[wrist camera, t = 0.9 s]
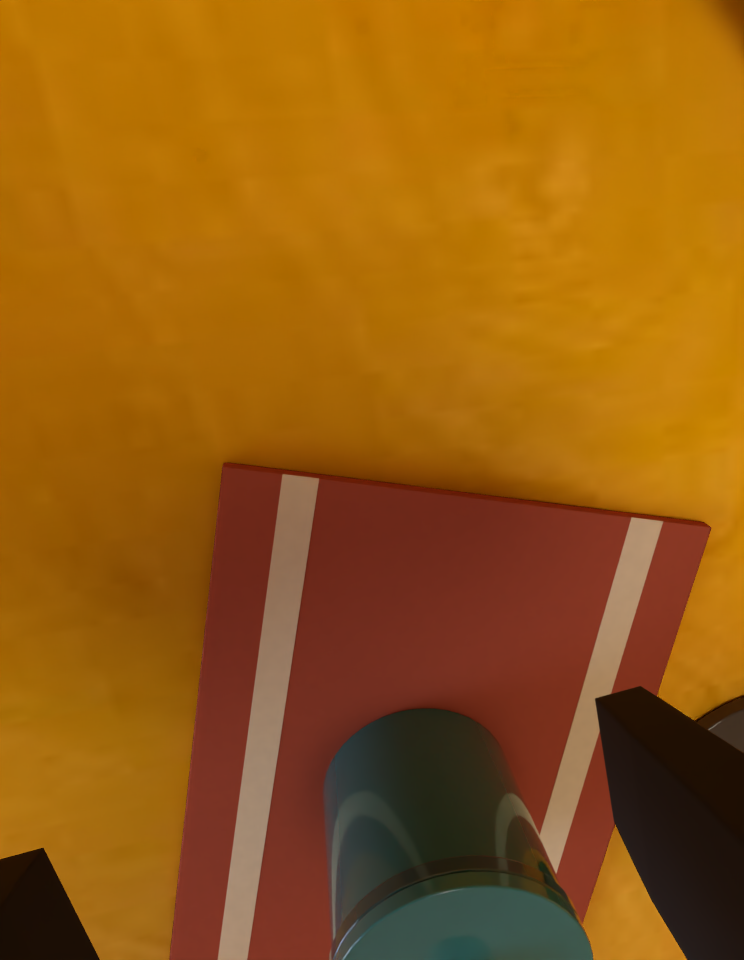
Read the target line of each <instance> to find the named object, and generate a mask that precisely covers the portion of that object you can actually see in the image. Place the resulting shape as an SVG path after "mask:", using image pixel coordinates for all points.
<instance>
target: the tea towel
mask: <svg viewBox="0 0 744 960" xmlns="http://www.w3.org/2000/svg"><path fill="white" fill-rule="evenodd" d="M710 531H711V527H710V526H709V525H707V524H706V523H704V522H697V521H689V520H681V519H673V518H665V517H657V516H650V515H642V514H634V513H626V512H618V511H610V510H602V509H594V508H586V507H578V506H570V505H562V504H554V503H546V502H538V501H530V500H522V499H514V498H506V497H498V496H490V495H482V494H474V493H466V492H458V491H450V490H442V489H434V488H426V487H418V486H410V485H402V484H394V483H386V482H378V481H370V480H362V479H354V478H346V477H338V476H330V475H322V474H314V473H306V472H298V471H290V470H282V469H274V468H266V467H258V466H250V465H242V464H234V463H224V464H223V467H222V476H221V485H220V494H219V504H218V513H217V522H216V531H215V541H214V550H213V559H212V569H211V578H210V587H209V597H208V606H207V615H206V625H205V634H204V643H203V653H202V662H201V671H200V680H199V690H198V699H197V708H196V718H195V727H194V736H193V746H192V755H191V764H190V774H189V783H188V792H187V802H186V811H185V820H184V829H183V839H182V848H181V857H180V867H179V876H178V885H177V895H176V904H175V913H174V923H173V932H172V941H171V951H170V960H329V954H330V950H331V936H330V919H329V901H328V884H327V866H326V848H325V831H324V813H323V796H322V793H323V784H324V780H325V776H326V772H327V770H328V768H329V765H330V763H331V761H332V760H333V758H334V756H335V755H336V753H337V752H338V750H339V749H340V748H341V747H342V745H343V744H344V743H345V742H346V741H347V740H348V739H349V738H350V737H351V736H352V735H353V734H355V733H356V732H357V731H359V730H360V729H361V728H363V727H364V726H366V725H368V724H369V723H371V722H373V721H375V720H377V719H379V718H381V717H383V716H386V715H389V714H392V713H395V712H399V711H404V710H409V709H418V708H435V709H443V710H449V711H452V712H456V713H459V714H462V715H464V716H467V717H469V718H471V719H473V720H474V721H476V722H478V723H480V724H481V725H482V726H483V727H485V728H486V729H487V730H488V731H489V732H490V733H491V734H492V735H493V736H494V737H495V738H496V739H497V741H498V742H499V744H500V745H501V747H502V749H503V751H504V753H505V755H506V757H507V760H508V762H509V764H510V767H511V769H512V771H513V774H514V776H515V779H516V781H517V783H518V786H519V788H520V790H521V793H522V795H523V797H524V800H525V802H526V804H527V807H528V809H529V812H530V814H531V816H532V819H533V821H534V823H535V826H536V828H537V830H538V833H539V835H540V838H541V840H542V842H543V845H544V847H545V849H546V852H547V854H548V856H549V859H550V861H551V863H552V866H553V868H554V871H555V873H556V875H557V878H558V880H559V882H560V885H561V887H562V889H563V890H564V891H565V892H566V894H567V895H568V897H569V898H570V899H571V901H572V903H573V905H574V907H575V909H576V911H577V913H578V916H579V918H580V920H581V922H582V924H583V921H584V918H585V915H586V912H587V908H588V905H589V902H590V899H591V896H592V893H593V890H594V887H595V884H596V881H597V878H598V875H599V872H600V869H601V865H602V862H603V859H604V856H605V853H606V850H607V847H608V844H609V841H610V838H611V835H612V832H613V829H614V826H615V822H614V819H613V813H612V806H611V800H610V793H609V787H608V780H607V774H606V768H605V761H604V755H603V748H602V742H601V735H600V729H599V722H598V716H597V709H596V703H595V698H598V697H601V696H605V695H609V694H613V693H616V692H620V691H624V690H627V689H631V688H635V687H638V686H641V687H643V688H645V689H646V690H648V691H649V692H651V693H653V694H654V695H656V696H657V693H658V690H659V687H660V684H661V681H662V678H663V675H664V672H665V669H666V666H667V663H668V660H669V657H670V654H671V650H672V647H673V644H674V641H675V638H676V635H677V632H678V629H679V626H680V623H681V620H682V617H683V614H684V611H685V607H686V604H687V601H688V598H689V595H690V592H691V589H692V586H693V583H694V580H695V577H696V574H697V571H698V568H699V564H700V561H701V558H702V555H703V552H704V549H705V546H706V543H707V540H708V537H709V534H710Z"/></svg>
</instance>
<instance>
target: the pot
mask: <svg viewBox="0 0 744 960" xmlns="http://www.w3.org/2000/svg"><path fill="white" fill-rule="evenodd" d="M322 796H323V813H324V831H325V848H326V866H327V884H328V901H329V919H330V936H331V950H330V954H329V960H593V952H592V948H591V945H590V941H589V939H588V936H587V934H586V932H585V929H584V927H583V925H582V922H581V920H580V918H579V916H578V913H577V911H576V909H575V907H574V905H573V903H572V901H571V899H570V898H569V897H568V895H567V894H566V892H565V891H564V890H563V889H562V887H561V885H560V882H559V880H558V878H557V875H556V873H555V871H554V868H553V866H552V863H551V861H550V859H549V856H548V854H547V852H546V849H545V847H544V845H543V842H542V840H541V838H540V835H539V833H538V830H537V828H536V826H535V823H534V821H533V819H532V816H531V814H530V812H529V809H528V807H527V804H526V802H525V800H524V797H523V795H522V793H521V790H520V788H519V786H518V783H517V781H516V779H515V776H514V774H513V771H512V769H511V767H510V764H509V762H508V760H507V757H506V755H505V753H504V751H503V749H502V747H501V745H500V744H499V742H498V741H497V739H496V738H495V737H494V736H493V735H492V734H491V733H490V732H489V731H488V730H487V729H486V728H485V727H483V726H482V725H481V724H480V723H478V722H476V721H474V720H473V719H471V718H469V717H467V716H464V715H462V714H459V713H456V712H452V711H449V710H443V709H435V708H418V709H409V710H404V711H399V712H395V713H392V714H389V715H386V716H383V717H381V718H379V719H377V720H375V721H373V722H371V723H369V724H368V725H366V726H364V727H363V728H361V729H360V730H359V731H357V732H356V733H355V734H353V735H352V736H351V737H350V738H349V739H348V740H347V741H346V742H345V743H344V744H343V745H342V747H341V748H340V749H339V750H338V752H337V753H336V755H335V756H334V758H333V760H332V761H331V763H330V765H329V768H328V770H327V772H326V776H325V780H324V784H323V793H322Z"/></svg>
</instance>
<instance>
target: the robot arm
mask: <svg viewBox="0 0 744 960" xmlns="http://www.w3.org/2000/svg"><path fill="white" fill-rule="evenodd" d="M595 703H596V709H597V716H598V722H599V729H600V735H601V742H602V748H603V755H604V761H605V768H606V774H607V780H608V787H609V793H610V800H611V806H612V813H613V819H614V822H615V825H616V827H617V829H618V831H619V833H620V835H621V837H622V839H623V842H624V844H625V846H626V848H627V850H628V852H629V854H630V857H631V859H632V861H633V863H634V865H635V867H636V869H637V871H638V873H639V875H640V877H641V879H642V881H643V883H644V885H645V888H646V890H647V892H648V894H649V896H650V898H651V900H652V902H653V903H654V905H655V907H656V908H657V910H658V912H659V913H660V915H661V917H662V918H663V920H664V922H665V923H666V925H667V927H668V928H669V930H670V932H671V933H672V935H673V937H674V938H675V940H676V942H677V943H678V945H679V947H680V948H681V950H682V951H683V953H684V955H685V956H686V958H687V960H744V753H743V752H742V751H740V750H739V749H737V748H735V747H734V746H732V745H731V744H729V743H728V742H726V741H725V740H723V739H721V738H720V737H718V736H717V735H715V734H714V733H712V732H711V731H709V730H708V729H706V728H704V727H703V726H701V725H700V724H698V723H697V722H695V721H694V720H692V719H691V718H689V717H688V716H686V715H685V714H683V713H682V712H680V711H679V710H677V709H676V708H674V707H673V706H671V705H669V704H668V703H666V702H665V701H663V700H662V699H660V698H659V697H657V696H656V695H654V694H653V693H651V692H649V691H648V690H646V689H645V688H643V687H641V686H638V687H635V688H631V689H627V690H624V691H620V692H616V693H613V694H609V695H605V696H601V697H598V698H595ZM0 960H100V959H99V957H98V955H97V953H96V951H95V949H94V947H93V945H92V943H91V941H90V939H89V937H88V936H87V934H86V932H85V930H84V928H83V926H82V924H81V922H80V920H79V918H78V916H77V914H76V912H75V910H74V908H73V906H72V904H71V902H70V900H69V898H68V896H67V894H66V892H65V890H64V888H63V886H62V884H61V882H60V880H59V878H58V876H57V874H56V872H55V870H54V868H53V866H52V864H51V862H50V860H49V858H48V856H47V854H46V852H45V850H44V848H41V849H37V850H33V851H30V852H26V853H22V854H19V855H15V856H11V857H7V858H4V859H0Z"/></svg>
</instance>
